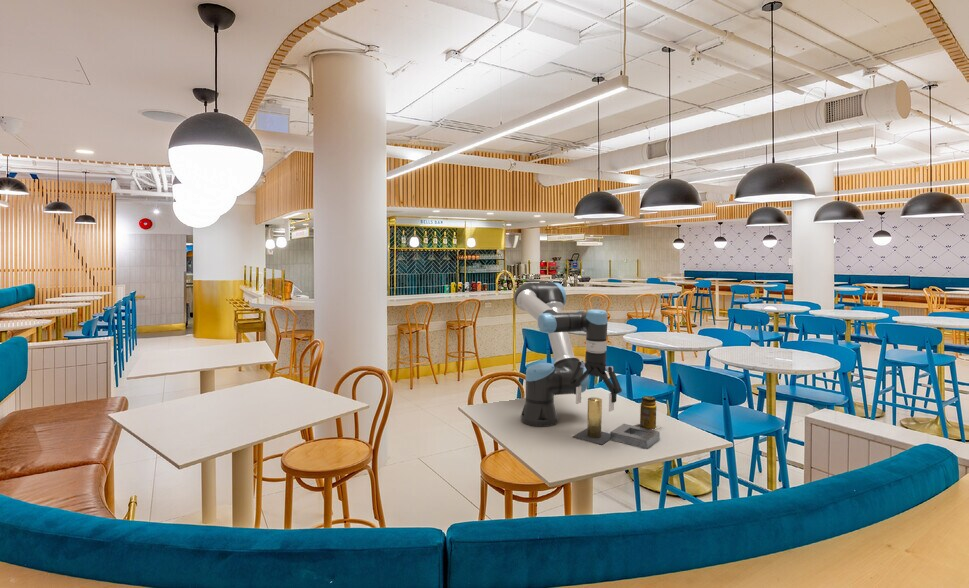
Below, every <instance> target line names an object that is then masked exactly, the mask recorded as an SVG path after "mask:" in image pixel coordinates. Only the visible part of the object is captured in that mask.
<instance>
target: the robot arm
mask: <svg viewBox="0 0 969 588" xmlns="http://www.w3.org/2000/svg"><path fill="white" fill-rule="evenodd" d="M513 300H514V303H515V305H516V307H518V308H519V310H521V311H526V312H527V314H529V315H530V316H532V317H533V319H535V320H536V321H537V327H538V329H539V331H540V332H541V333H543V334H544V333H545V334H546V333H547V335H548V338H549V342H550V347H551V349H552V354H553V357H554V358H553V359H554V362H553V363H550V362H539V363H534V364H531V365H529V366H528V367H527V368H526V369H525V370H526V371H525V401H524V402H525V403H524V405H523V408H522V411H521V414H520V421H521V423H523V424H525V425H528V426H533V427H550V426H551V427H552V426H554V425H557V423H558V421H559V418H558V417H559V415H558V413H557V409H556V405H555V399H554V398H555V396H562V395H575V404H576V405H579V404H580V403H582V393H584V392H586V390H587V388H588V386H589V383H590V376H591V377H592V376H593V377H597V378H598V377H599V378H600V379H601V380H602V381H603V383H604V385H605V386H606V387H607V389H608V390H609V392H610V393H608V412H610V413H611V412H613V411H614V410H615V404H616V402H617V394H620V393H621V392H623V390H622V387H621V385H620V382H619V380H618V377H617V375H616V372H615V367H614V366H615V365H614V366H613V365H610V366H607V365H606V364H607V342H608V340H607V338H608V322H609V321H608V312H607V311H606V310H604V309H595V308H594V309H593V308H592V309H588V310H587V311H584V310H582V311H581V310H578V311H575V312H573V311H572V312H563V309H565V305H566V303H567V295H566V290H565V288H564V286H563V285H562V284H561V283H559V282H554V281H549V282H526V283H523V284H521V285H520V286H518V288H517V289H516V290H515V292H514V294H513ZM575 332H577V333H578V332H579V333H580V332H582V333H585V336H586V337H585V350H586V351H585V362H584V360H580V359H579V357H576V356H575V354H574V349H573V345H572V341H571V339H570V335H569V333H575ZM606 371H607V373H608V374H607V373H606ZM608 375H609V377H608Z"/></svg>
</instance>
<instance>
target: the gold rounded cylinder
mask: <svg viewBox="0 0 969 588" xmlns="http://www.w3.org/2000/svg"><path fill="white" fill-rule="evenodd" d="M602 410H603V399H602V398H600V397H593V396H591V397H588V398H587V422H586V423H587V426H586V427H587V428H586V429H587V436H588V437H591V438H600V437H601V431H602V424H603V423H602V420H603V419H602V417H603V416H602V415H603V411H602Z"/></svg>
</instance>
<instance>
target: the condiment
mask: <svg viewBox="0 0 969 588" xmlns="http://www.w3.org/2000/svg"><path fill="white" fill-rule="evenodd" d="M656 401H657V399H656V398H655V397H653V396H648V395H644V396H642V397H641V403H640V410H639V411H640V412H639V413H640V415H639V416H640V417H639V423H637V424H635V425H632V426H637V427H641V428H646V429H650V430H652V429H653V430H654V431H656V430H657V429H658V430H659V429H660V428H661V427H660V426H657V404H656ZM655 428H656V429H655Z"/></svg>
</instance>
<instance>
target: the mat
mask: <svg viewBox="0 0 969 588" xmlns="http://www.w3.org/2000/svg"><path fill="white" fill-rule="evenodd" d="M571 438H573V439H577V440H581V441H584V442H589V443H593V444H596V445H600V446H602V445H604V444H606V443H608V442H610V441H611V440H610V433H609V432H606V431H602V430H601V437H600V438H591V437H588V436H587V428H585V429H583V430H581V431H580V432H578V433H576V434H574V435H572V436H571Z"/></svg>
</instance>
